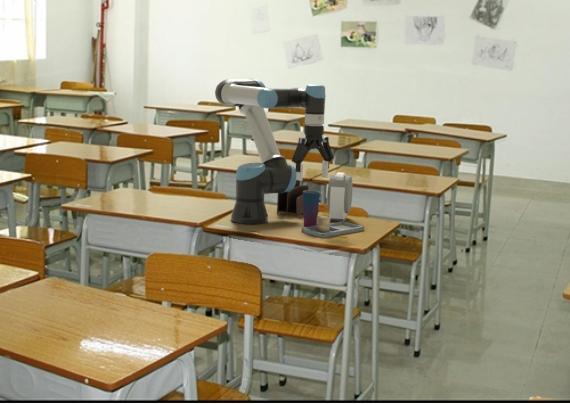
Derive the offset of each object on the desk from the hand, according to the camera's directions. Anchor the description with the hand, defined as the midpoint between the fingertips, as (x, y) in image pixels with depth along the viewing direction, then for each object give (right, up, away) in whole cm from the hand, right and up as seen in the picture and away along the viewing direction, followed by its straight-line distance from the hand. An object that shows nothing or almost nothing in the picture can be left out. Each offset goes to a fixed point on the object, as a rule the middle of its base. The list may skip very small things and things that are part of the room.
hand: (312, 178), depth 315 cm
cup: (-1, -20, +4) cm, 20 cm away
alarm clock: (+12, -17, +21) cm, 30 cm away
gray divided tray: (+8, -21, -3) cm, 23 cm away
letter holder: (-5, -13, +38) cm, 41 cm away
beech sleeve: (+4, -21, -7) cm, 22 cm away
